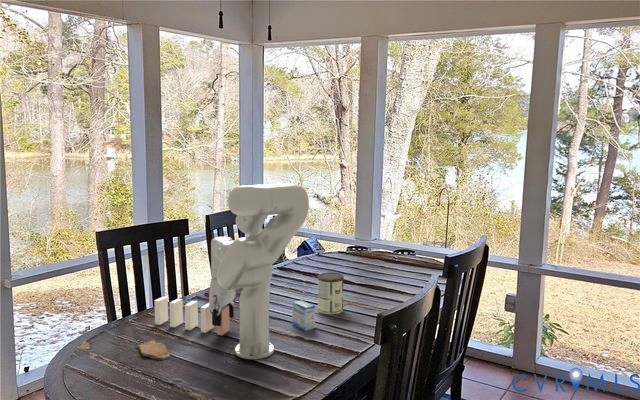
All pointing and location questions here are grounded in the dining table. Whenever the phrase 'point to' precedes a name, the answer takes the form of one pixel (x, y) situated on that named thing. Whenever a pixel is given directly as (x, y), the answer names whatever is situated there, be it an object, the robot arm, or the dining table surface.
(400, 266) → the dining table surface
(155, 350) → the pottery shard
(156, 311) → the domino far
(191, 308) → the domino
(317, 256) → the dining table surface
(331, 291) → the coffee can
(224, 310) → the terracotta domino
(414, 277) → the dining table surface
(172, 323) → the domino
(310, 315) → the medicine box
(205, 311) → the domino
